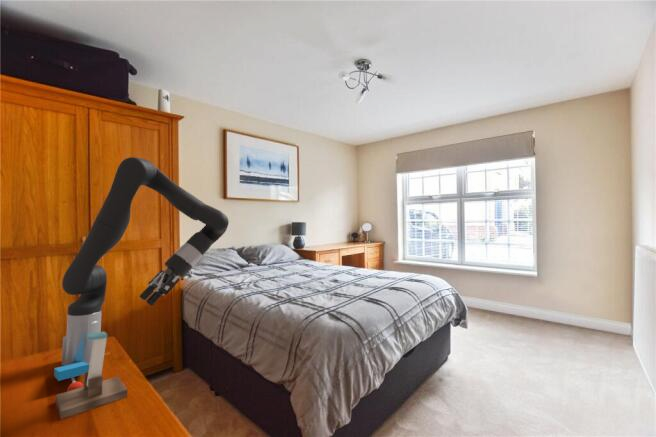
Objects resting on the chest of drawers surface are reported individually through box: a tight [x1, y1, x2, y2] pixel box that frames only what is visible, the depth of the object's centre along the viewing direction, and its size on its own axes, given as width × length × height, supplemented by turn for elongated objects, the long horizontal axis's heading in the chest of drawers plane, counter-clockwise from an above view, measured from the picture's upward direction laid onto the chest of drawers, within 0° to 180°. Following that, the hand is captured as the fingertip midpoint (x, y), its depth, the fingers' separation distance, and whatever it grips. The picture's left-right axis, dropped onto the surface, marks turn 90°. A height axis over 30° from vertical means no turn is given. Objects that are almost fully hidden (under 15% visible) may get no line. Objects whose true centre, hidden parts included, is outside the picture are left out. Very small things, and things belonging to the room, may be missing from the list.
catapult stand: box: [55, 371, 128, 420], centre depth 82 cm, size 14×10×7 cm
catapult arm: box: [87, 330, 108, 386], centre depth 82 cm, size 4×4×14 cm
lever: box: [53, 362, 90, 392], centre depth 90 cm, size 7×7×18 cm
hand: (145, 301), depth 91 cm, fingers open, 8 cm apart
